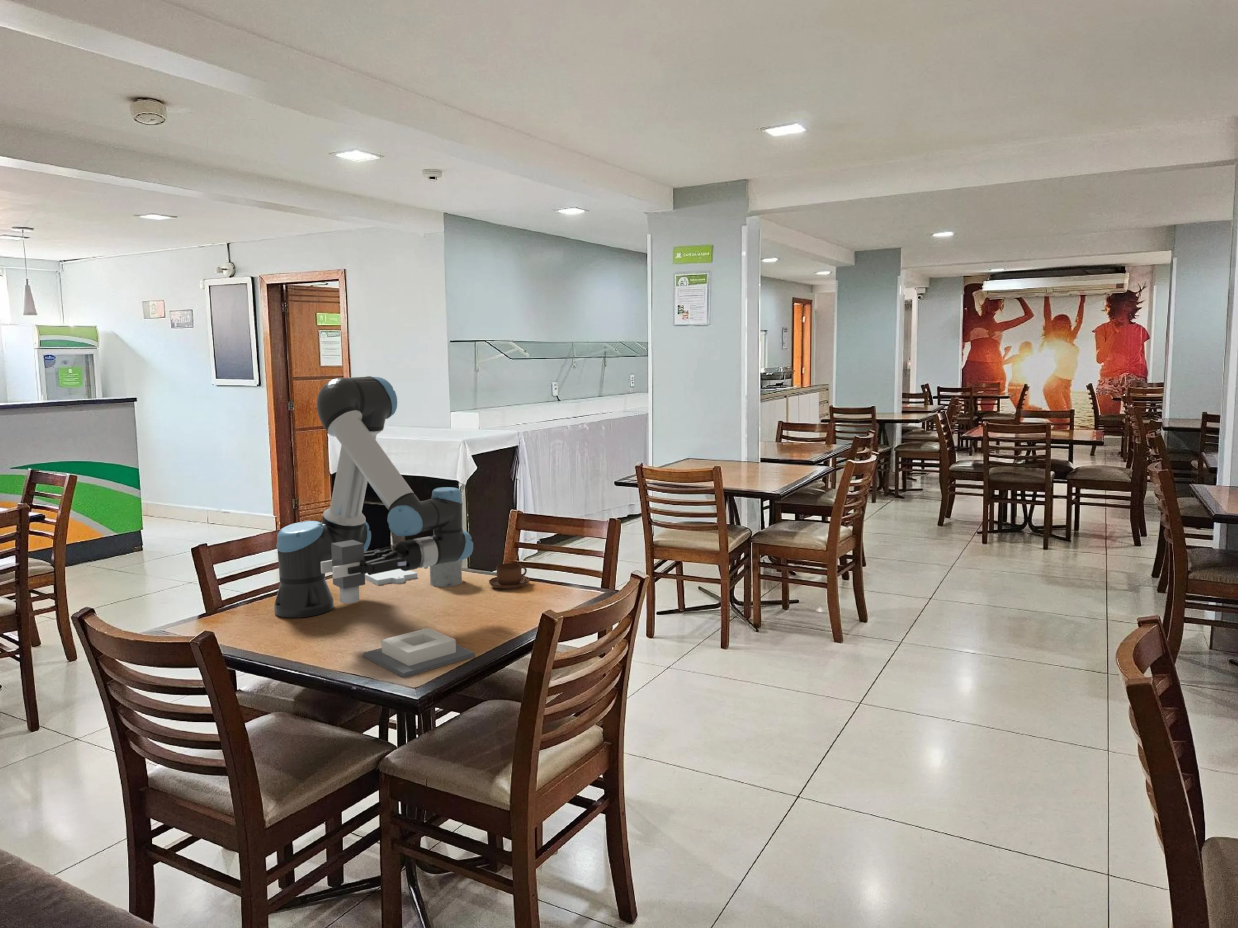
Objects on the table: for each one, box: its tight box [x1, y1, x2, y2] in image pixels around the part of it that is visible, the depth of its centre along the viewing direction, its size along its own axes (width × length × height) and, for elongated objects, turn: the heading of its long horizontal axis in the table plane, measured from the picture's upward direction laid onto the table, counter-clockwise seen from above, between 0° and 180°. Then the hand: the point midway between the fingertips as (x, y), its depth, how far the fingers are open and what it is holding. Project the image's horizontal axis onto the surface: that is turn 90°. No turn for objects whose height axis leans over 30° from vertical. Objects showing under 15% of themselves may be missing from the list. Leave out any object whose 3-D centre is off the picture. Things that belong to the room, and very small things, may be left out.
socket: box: [363, 627, 476, 678], centre depth 195 cm, size 18×18×4 cm
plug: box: [331, 540, 366, 604], centre depth 204 cm, size 6×6×14 cm
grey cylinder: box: [429, 560, 463, 588], centre depth 258 cm, size 10×10×12 cm
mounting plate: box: [365, 569, 418, 586], centre depth 266 cm, size 18×13×2 cm
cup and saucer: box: [488, 562, 530, 590], centre depth 254 cm, size 12×12×6 cm
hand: (327, 570), depth 200 cm, fingers closed on plug, 5 cm apart
